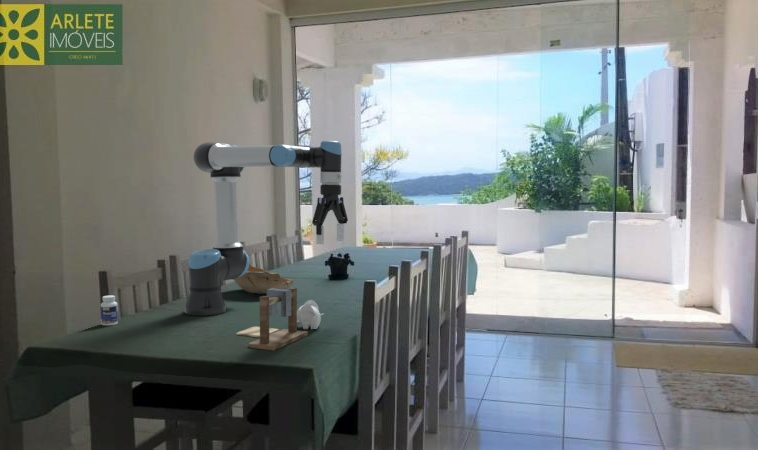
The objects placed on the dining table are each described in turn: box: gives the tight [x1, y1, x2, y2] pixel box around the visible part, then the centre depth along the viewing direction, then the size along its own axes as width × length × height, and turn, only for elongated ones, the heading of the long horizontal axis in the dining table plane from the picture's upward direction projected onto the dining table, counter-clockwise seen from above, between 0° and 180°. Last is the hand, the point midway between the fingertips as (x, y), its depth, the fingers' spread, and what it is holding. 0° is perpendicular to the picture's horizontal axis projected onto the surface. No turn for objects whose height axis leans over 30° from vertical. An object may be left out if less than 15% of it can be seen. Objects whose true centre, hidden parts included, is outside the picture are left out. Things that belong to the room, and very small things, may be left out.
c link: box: [266, 288, 291, 318], centre depth 189 cm, size 7×3×8 cm, turn 67°
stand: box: [247, 287, 309, 352], centre depth 189 cm, size 20×9×15 cm, turn 157°
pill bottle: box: [100, 294, 119, 326], centre depth 210 cm, size 5×5×10 cm
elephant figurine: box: [297, 299, 324, 330], centre depth 207 cm, size 10×12×9 cm
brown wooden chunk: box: [233, 264, 294, 295], centre depth 274 cm, size 30×27×15 cm
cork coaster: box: [236, 326, 280, 339], centre depth 200 cm, size 10×10×1 cm
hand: (330, 242), depth 221 cm, fingers open, 13 cm apart
